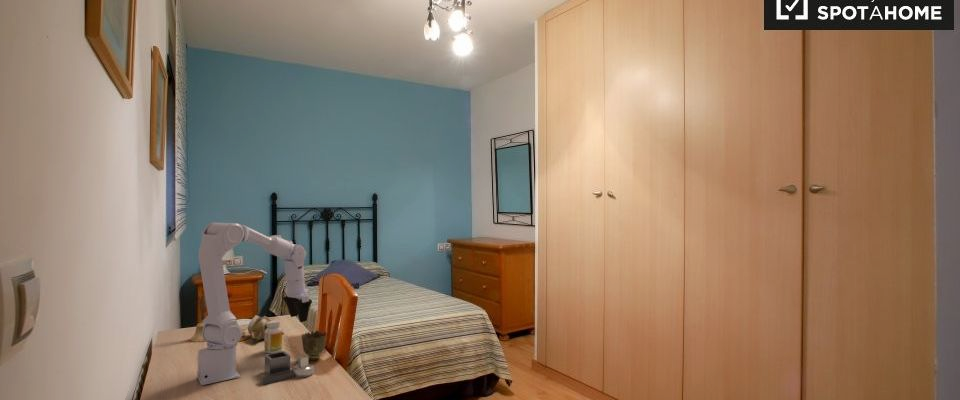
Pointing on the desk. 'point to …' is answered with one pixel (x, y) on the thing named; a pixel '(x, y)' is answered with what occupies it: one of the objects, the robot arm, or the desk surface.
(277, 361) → the dark-topped grey cube
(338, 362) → the desk surface
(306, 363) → the ratchet
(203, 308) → the hand bell
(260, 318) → the ceramic sculpture
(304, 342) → the cup
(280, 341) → the supplement bottle
